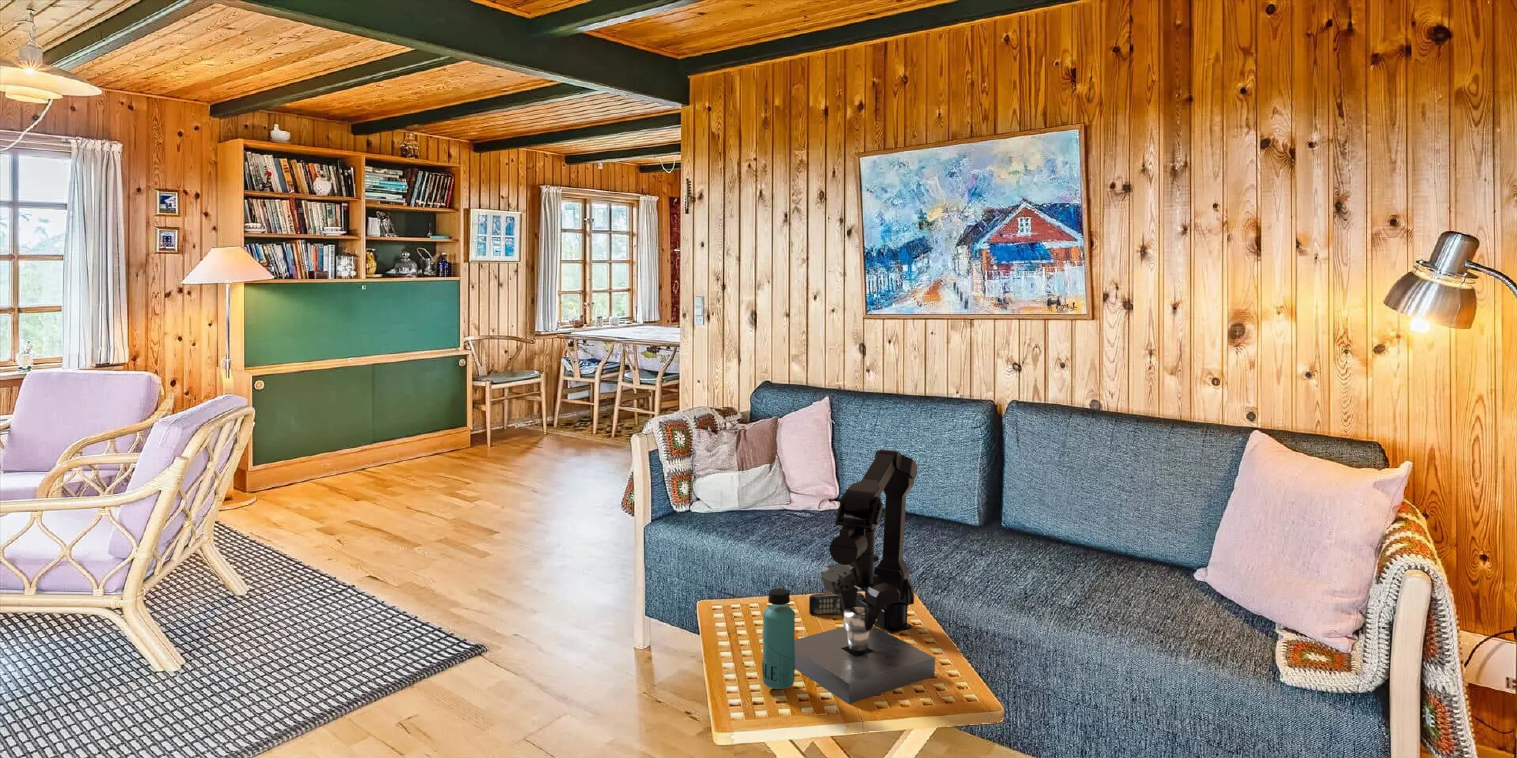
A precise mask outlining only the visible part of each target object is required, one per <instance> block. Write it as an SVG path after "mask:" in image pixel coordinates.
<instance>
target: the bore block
mask: <svg viewBox="0 0 1517 758" xmlns="http://www.w3.org/2000/svg"><path fill="white" fill-rule="evenodd" d="M794 647H795V666H794V670H795V671H798V672H799V673H801V674H802V675H803V676H805V677H806V678H808V679H809V680H811V681H813V682H814V683H816V684H817V685H819V686H821V687H822V688H824V689H825V690H826V691H828V692H830V693H831V694H833V695H834V696H836V697H837V698H839V699H840V700H842V701H843V702H845V703H846V704H848V705H850V704H853V703H857V702H860V701H863V700H866V699H869V698H871V697H875V696H880V695H882V694H885V693H887V692H891V691H894V690H897V689H900V688H903V687H906V686H911V685H912V684H915V683H918V682H921V681H924V680H927V679H928V680H929V679H931V678H934V677H935V673H936V672H935V669H936V657H935V656H933V655H931V654H929V653H927V652H925V651H923V650H921V649H919V648H917V647H916V646H913V645H912V644H909V643H907V642H906V641H904V640H902V639H900V638H898V637H896V636H894V635H892V633H890V632H888V631H886V630H884V629H882V628H880V627H878V626H877V627H876V625H873V629H872V630H871V631H869V647H868V649H866V650H861V651H858V650H852V649H850V648H848V647H847V630H846V629H845V628H844V626H842V627H837V628H833V629H830V630H826V631H822V632H818V633H814V634H811V635H807V636H803V637H800V638H796V639H795V638H794Z"/></svg>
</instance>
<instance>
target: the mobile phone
mask: <svg viewBox="0 0 1517 758" xmlns="http://www.w3.org/2000/svg"><path fill="white" fill-rule="evenodd" d="M863 599H865V594H863V593H861V592H857V596H856V601H855V606H854V607H862V608H865V607H864V605H863V604H862V603H861V602H860V600H863ZM808 600H809V601H808V603H809V604H808V608H809V609H808V610H809V611H808V612H809V614H810V615H811V614H828V615H844V610H843V607H842V604H841V601H840V598H839V595H835V594H833V593H832V592H824V593H815V594H811V595H809V599H808Z"/></svg>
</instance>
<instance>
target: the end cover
mask: <svg viewBox="0 0 1517 758" xmlns="http://www.w3.org/2000/svg"><path fill="white" fill-rule="evenodd" d="M843 627H844V628H845V629H846V630H847V647H848V648H850V649H852V650H858V651H861V650H866V649H868V647H869V631H871V630H872V629H873V627H872V628H871V630H866V626H865V608H862V607H852V608H848V609H846V610H845V611H844V614H843Z"/></svg>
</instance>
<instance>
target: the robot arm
mask: <svg viewBox="0 0 1517 758" xmlns="http://www.w3.org/2000/svg"><path fill="white" fill-rule="evenodd" d="M917 475H918V464H917V462H916V461H915V460H914V459H913V458H912V457H909V456H906V455H904V454H902V453H901V452H899V451H898V450H893V449H877V450H876V452H875V454H874V459H873V460H872V462H871V464H870V466H869V467H868V468H867V470H866V472H865V474H864V475H863V477H862V479H861V480H860V481H857V482H854V483H852V484H851V485H849V486H848V488H847V489H845V492H843V494H842V496H841V498H840V502H839V506H838V510H837V515H836V517H835V523H834V524H835V526H839V527H842V528H840V529H839V534H838V535H837V536H836V537H834V538H833V539H832V540H831V542H830V545H829V554H830V556H831V558H832V559H833V561H834V562H836V563H835V564H829V565H826V566H824V567H823V568H822V570H821V572H820V573H821V574H820V578H821V579H820V580H821V581H822V584H823V588H824V590H825V591H829V593H833V594H835V595H839V598H840V601H841V604H842V607H843V610H844V611H845V610H846V609H848V608H852V607H854V606H855V601H856V596H857V593H858V591H859V590H861V591H863V592H864V597H865V599H863V600H860V602H861V603H862V604H863V605H864V607H865V626H866V630H871V628H872V627H873V626H875V627H876V626H877V628H879V629H881V630H883V631H885V632H887V633H889V634H893V633H896V632H900V631H904V630H908V629H911V628H912V624H911V623H908V607H909V606H910V605H914V603H915V589H914V585H913V583H912V581H911V579H910V570H909V567H908V566H907V564H906V561H905V560H904V543H905V542H904V539H905V523H906V507H907V506H906V505H907V504H906V503H907V495H908V494H909V492H910V491H911V490H912V488H913V486H914V484H915V480H916V478H917ZM883 493H884V496H885V501H884V503H883V499H882V496H881V495H882V494H883ZM883 509H884V520H883V536H882V537H883V539H882V554H881V555H882V557H881V558H882V559H881V560H879V555H877V554H875V539H876V527H877V526H878V525H879V523H880V519H881V515H882V512H883ZM876 562H879V563H878V565H876V567H875V563H876Z"/></svg>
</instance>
